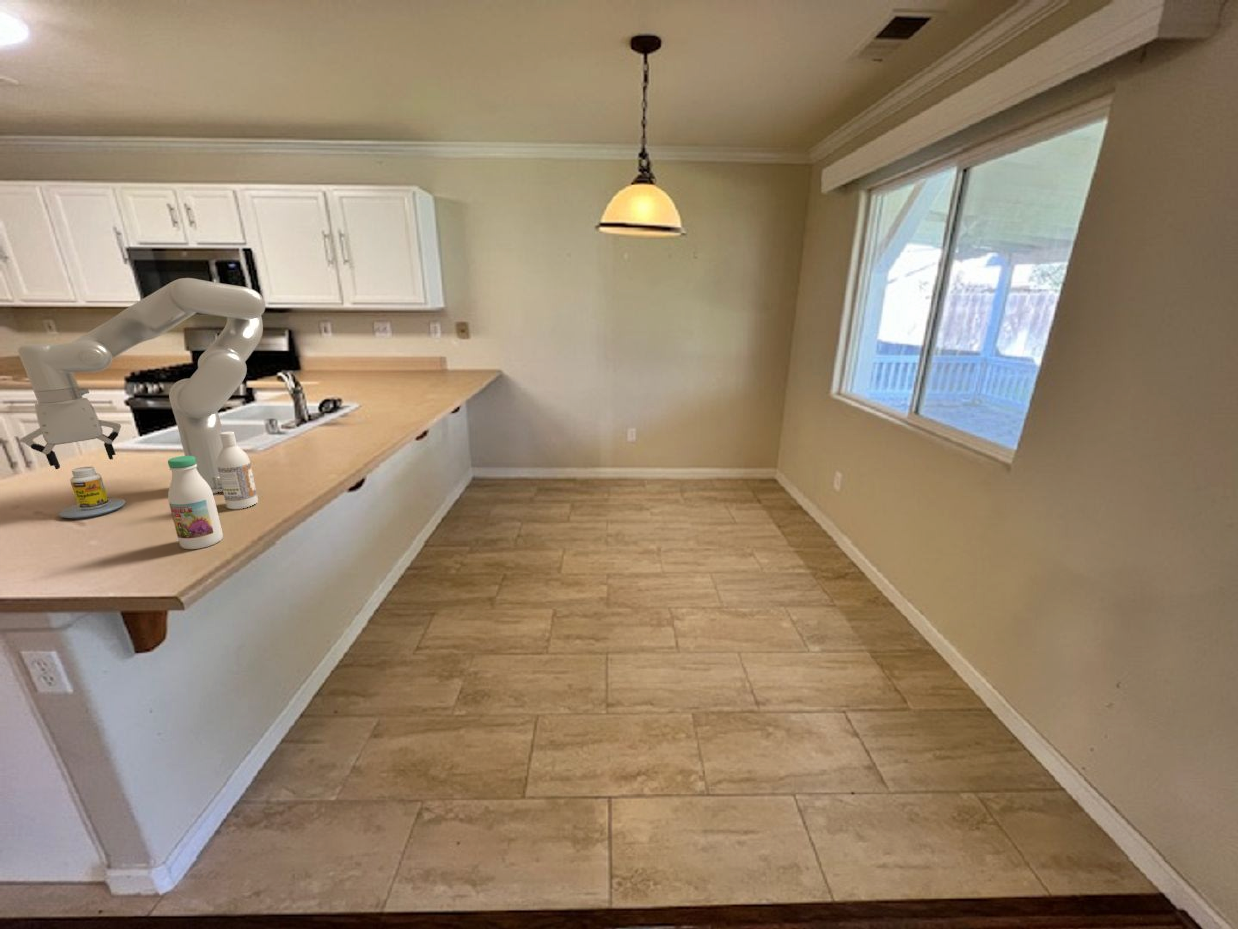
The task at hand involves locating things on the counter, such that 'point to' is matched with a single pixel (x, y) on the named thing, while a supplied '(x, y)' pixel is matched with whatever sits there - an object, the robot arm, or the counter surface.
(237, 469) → the bath foam
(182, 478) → the milk bottle
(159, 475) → the counter surface
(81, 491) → the supplement bottle
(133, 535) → the counter surface
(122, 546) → the counter surface
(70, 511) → the dish
